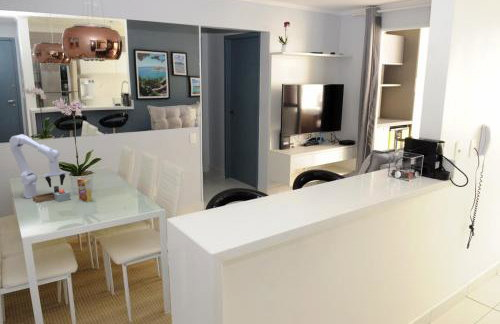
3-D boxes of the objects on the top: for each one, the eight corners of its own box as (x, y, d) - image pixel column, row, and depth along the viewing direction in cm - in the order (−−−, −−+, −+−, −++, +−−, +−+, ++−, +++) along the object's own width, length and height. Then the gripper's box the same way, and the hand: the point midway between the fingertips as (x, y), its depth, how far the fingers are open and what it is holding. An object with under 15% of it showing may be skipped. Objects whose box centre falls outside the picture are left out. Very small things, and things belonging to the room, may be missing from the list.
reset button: (59, 194, 270) (58, 189, 269) (63, 194, 272) (63, 188, 271) (60, 195, 268) (60, 190, 267) (65, 195, 270) (64, 189, 269)
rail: (33, 200, 269) (32, 196, 268) (61, 194, 282) (61, 190, 282) (36, 203, 264) (36, 198, 263) (65, 197, 277) (65, 193, 276)
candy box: (78, 200, 271) (76, 178, 268) (83, 198, 275) (81, 177, 271) (87, 202, 267) (85, 180, 263) (92, 200, 270) (90, 179, 267)
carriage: (51, 195, 276) (50, 186, 274) (60, 193, 280) (59, 184, 279) (53, 196, 272) (53, 188, 271) (62, 195, 276) (62, 186, 275)
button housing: (54, 200, 270) (54, 193, 269) (66, 197, 276) (66, 190, 275) (58, 202, 266) (57, 195, 265) (70, 199, 272) (69, 192, 271)
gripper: (45, 169, 264) (47, 189, 267) (67, 166, 274) (68, 185, 277) (41, 167, 269) (43, 186, 272) (63, 164, 279) (65, 183, 282)
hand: (56, 185), depth 275 cm, fingers open, 7 cm apart
